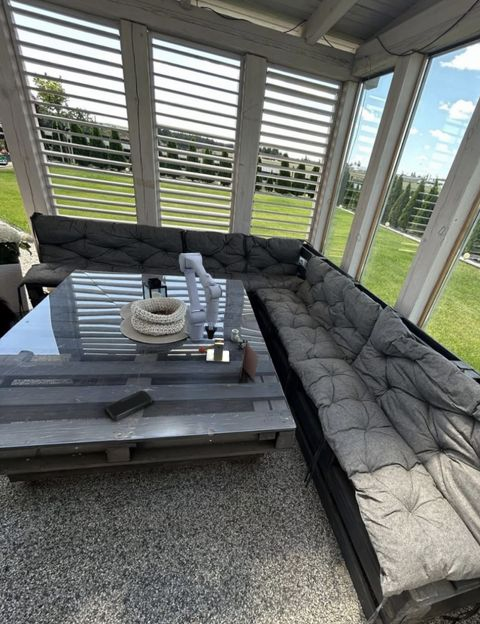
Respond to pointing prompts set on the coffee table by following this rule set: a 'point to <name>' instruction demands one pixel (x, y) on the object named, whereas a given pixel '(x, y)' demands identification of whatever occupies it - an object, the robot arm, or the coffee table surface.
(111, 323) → the coffee table surface
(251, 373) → the greeting card
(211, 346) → the lever
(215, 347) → the tap bracket
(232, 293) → the coffee table surface
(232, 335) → the valve
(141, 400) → the phone
